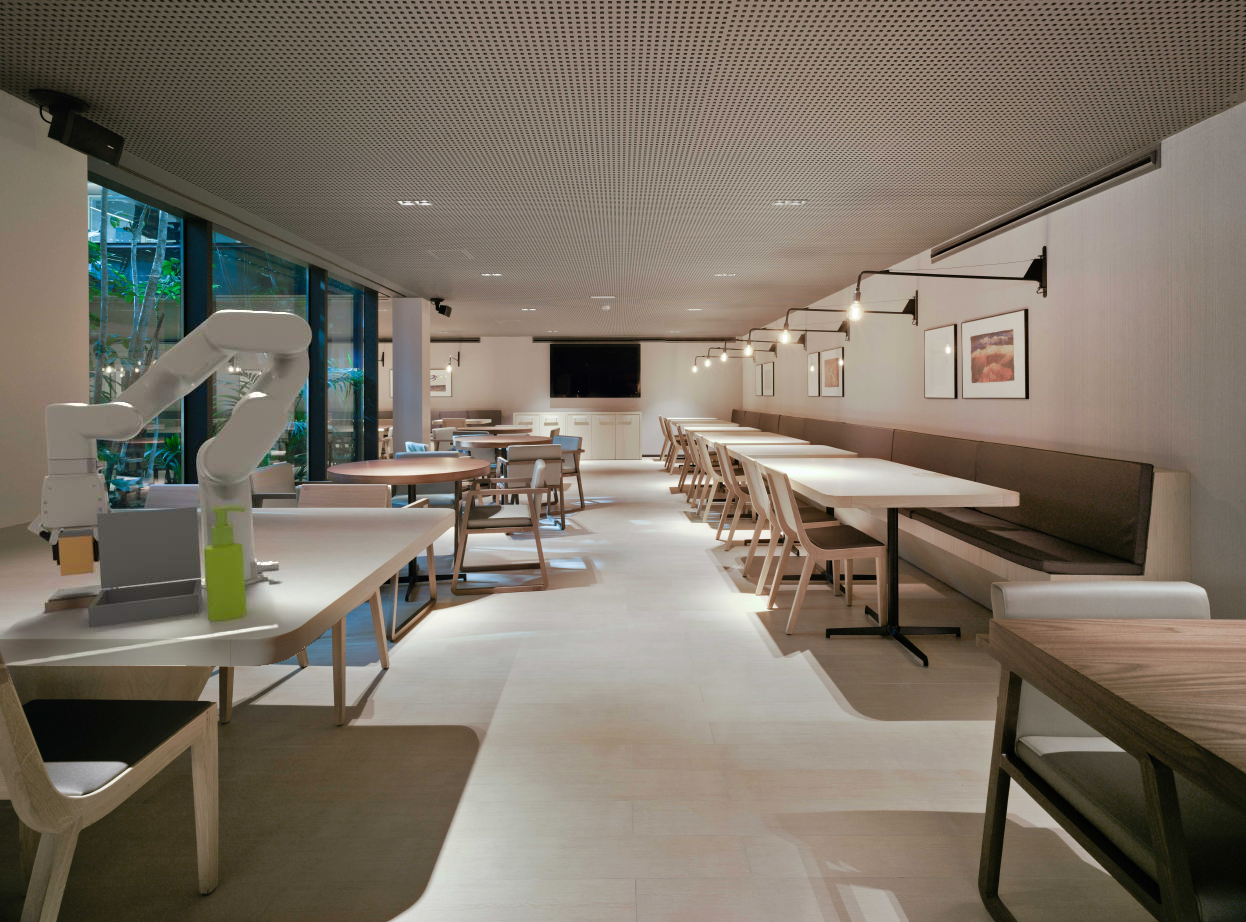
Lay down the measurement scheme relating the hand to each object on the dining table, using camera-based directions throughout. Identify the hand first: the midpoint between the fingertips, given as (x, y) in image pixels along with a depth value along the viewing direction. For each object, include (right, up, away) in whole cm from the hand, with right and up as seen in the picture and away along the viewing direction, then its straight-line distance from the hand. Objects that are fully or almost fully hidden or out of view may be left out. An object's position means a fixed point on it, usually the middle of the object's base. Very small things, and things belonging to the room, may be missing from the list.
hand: (79, 561), depth 137 cm
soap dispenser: (+35, -9, -11) cm, 38 cm away
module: (0, -2, 0) cm, 2 cm away
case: (+18, -9, -7) cm, 21 cm away
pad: (0, -8, +1) cm, 9 cm away
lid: (+14, +3, -1) cm, 15 cm away
